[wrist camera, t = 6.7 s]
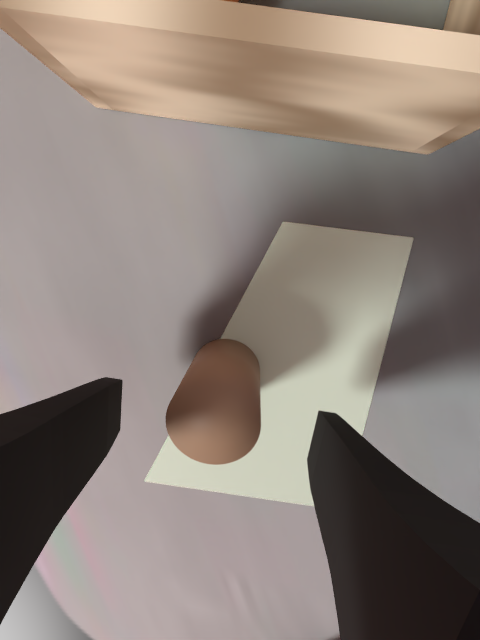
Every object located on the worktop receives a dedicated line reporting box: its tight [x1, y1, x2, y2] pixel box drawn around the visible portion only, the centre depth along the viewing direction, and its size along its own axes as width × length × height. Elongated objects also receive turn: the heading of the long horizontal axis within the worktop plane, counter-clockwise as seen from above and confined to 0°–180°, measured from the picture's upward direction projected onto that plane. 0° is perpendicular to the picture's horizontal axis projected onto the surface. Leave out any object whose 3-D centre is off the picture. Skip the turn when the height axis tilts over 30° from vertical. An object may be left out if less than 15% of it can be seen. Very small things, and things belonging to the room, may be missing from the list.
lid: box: [144, 222, 414, 506], centre depth 12 cm, size 13×13×5 cm
